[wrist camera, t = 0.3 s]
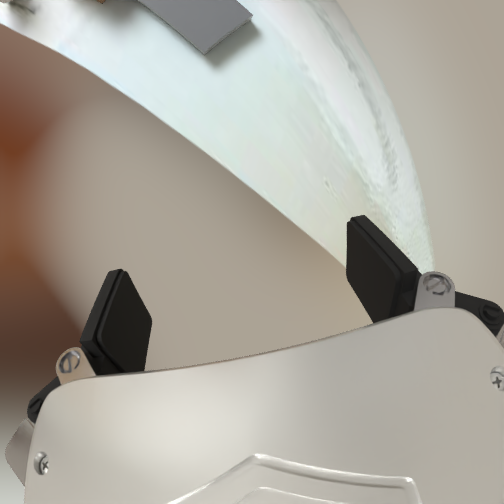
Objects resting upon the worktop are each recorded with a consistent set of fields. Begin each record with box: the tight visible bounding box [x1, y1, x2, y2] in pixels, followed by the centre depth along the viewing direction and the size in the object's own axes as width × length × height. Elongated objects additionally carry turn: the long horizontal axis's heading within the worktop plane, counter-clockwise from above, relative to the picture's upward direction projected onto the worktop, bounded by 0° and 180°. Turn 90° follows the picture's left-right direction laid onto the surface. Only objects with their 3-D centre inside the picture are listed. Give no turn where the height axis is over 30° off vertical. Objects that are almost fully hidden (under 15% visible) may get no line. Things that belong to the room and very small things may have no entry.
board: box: [137, 0, 253, 55], centre depth 23 cm, size 16×8×3 cm, turn 41°
